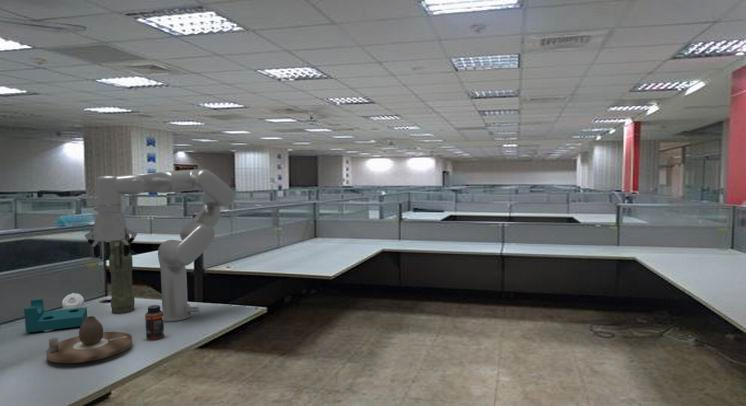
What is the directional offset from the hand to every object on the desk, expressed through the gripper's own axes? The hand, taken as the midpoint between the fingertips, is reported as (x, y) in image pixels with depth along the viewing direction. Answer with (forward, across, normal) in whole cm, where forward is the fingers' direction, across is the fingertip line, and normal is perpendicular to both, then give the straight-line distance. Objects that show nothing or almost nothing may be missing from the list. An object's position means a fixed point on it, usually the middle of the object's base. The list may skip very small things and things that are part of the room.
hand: (112, 256), depth 174 cm
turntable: (+27, -1, -21) cm, 34 cm away
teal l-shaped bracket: (+29, -24, +12) cm, 39 cm away
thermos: (+28, -6, +29) cm, 41 cm away
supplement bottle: (+28, +16, -10) cm, 34 cm away
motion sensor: (+28, -27, +34) cm, 52 cm away
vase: (+25, -1, -21) cm, 33 cm away
